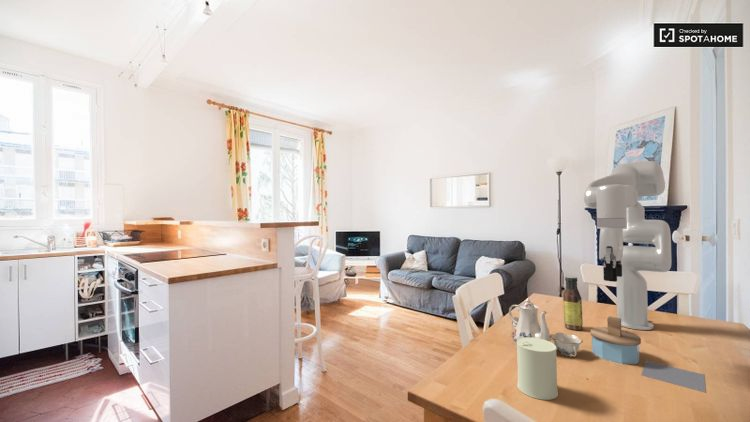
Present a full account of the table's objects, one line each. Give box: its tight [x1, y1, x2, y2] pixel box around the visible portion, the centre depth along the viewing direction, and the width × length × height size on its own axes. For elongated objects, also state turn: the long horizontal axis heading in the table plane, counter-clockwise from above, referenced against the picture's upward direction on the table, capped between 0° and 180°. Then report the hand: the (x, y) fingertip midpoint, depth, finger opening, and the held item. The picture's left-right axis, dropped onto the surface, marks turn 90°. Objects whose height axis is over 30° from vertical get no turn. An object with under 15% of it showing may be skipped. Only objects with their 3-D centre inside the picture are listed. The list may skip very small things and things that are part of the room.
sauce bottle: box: [562, 275, 584, 331], centre depth 122 cm, size 7×6×20 cm
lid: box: [590, 315, 642, 346], centre depth 96 cm, size 12×12×6 cm
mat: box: [641, 360, 707, 393], centre depth 84 cm, size 12×12×1 cm
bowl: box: [591, 335, 640, 365], centre depth 96 cm, size 11×11×6 cm
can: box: [516, 337, 559, 401], centre depth 79 cm, size 9×9×12 cm
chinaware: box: [508, 298, 584, 358], centre depth 106 cm, size 28×17×17 cm, turn 23°
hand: (613, 278), depth 97 cm, fingers open, 9 cm apart
